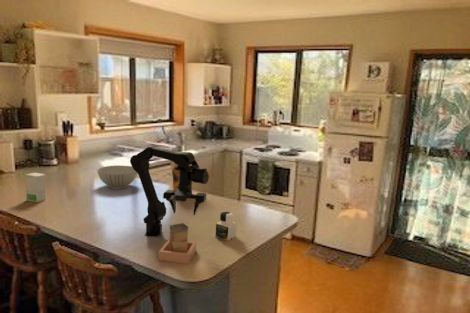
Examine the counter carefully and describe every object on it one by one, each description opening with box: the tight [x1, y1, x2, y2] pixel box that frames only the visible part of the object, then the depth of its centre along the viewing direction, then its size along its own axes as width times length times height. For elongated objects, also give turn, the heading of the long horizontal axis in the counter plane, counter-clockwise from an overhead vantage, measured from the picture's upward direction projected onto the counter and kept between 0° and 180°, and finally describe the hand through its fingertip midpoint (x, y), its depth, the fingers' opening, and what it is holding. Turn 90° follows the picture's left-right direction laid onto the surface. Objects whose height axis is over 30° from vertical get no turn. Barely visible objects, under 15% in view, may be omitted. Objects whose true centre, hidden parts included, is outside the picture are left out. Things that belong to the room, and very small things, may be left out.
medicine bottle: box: [215, 211, 237, 241], centre depth 173 cm, size 7×7×12 cm
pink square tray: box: [158, 238, 197, 265], centre depth 151 cm, size 12×12×4 cm
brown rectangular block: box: [168, 222, 189, 253], centre depth 150 cm, size 5×6×12 cm
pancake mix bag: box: [170, 161, 192, 193], centre depth 234 cm, size 7×19×28 cm, turn 136°
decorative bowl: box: [96, 164, 138, 190], centre depth 246 cm, size 27×27×12 cm
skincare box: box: [25, 172, 46, 203], centre depth 209 cm, size 8×7×16 cm
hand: (184, 214), depth 164 cm, fingers open, 9 cm apart
